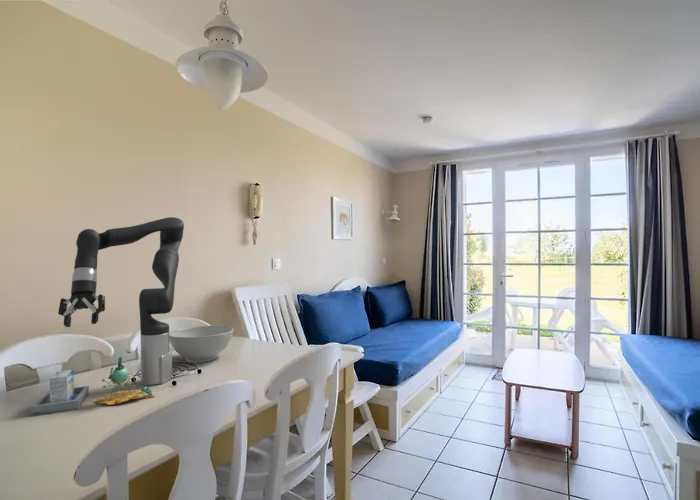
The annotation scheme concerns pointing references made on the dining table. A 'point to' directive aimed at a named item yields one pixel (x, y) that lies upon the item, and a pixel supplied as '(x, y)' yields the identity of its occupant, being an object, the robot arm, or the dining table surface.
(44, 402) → the tray
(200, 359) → the decorative bowl
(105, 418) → the dining table surface
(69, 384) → the medicine box
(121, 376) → the frog figurine
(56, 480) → the dining table surface
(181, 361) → the dining table surface
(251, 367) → the dining table surface
